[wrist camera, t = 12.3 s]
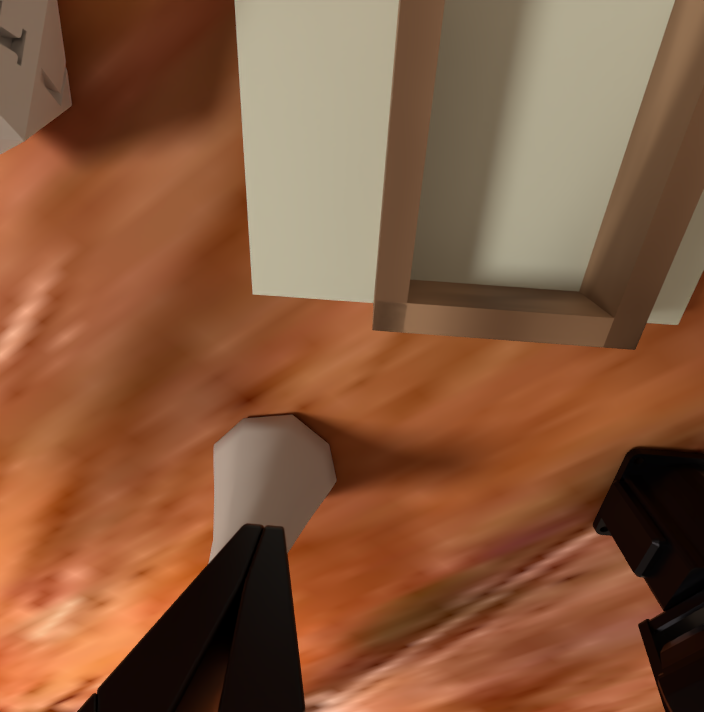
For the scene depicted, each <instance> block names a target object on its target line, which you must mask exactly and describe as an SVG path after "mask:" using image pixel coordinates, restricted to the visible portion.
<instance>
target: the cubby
mask: <svg viewBox="0 0 704 712" xmlns="http://www.w3.org/2000/svg"><path fill="white" fill-rule="evenodd" d="M444 5H445V0H399V5H398V17H397V29H396V41H395V53H394V64H393V76H392V88H391V100H390V112H389V124H388V136H387V148H386V160H385V171H384V183H383V195H382V207H381V219H380V231H379V243H378V255H377V266H376V278H375V290H374V302H373V329H372V330H377V331H390V332H403V333H417V334H430V335H444V336H457V337H471V338H484V339H498V340H511V341H524V342H538V343H551V344H565V345H578V346H592V347H605V348H618V349H632V350H635V349H636V346H637V344H638V342H639V339H640V337H641V335H642V332H643V330H644V328H645V325H646V323H647V321H648V318H649V316H650V314H651V311H652V309H653V307H654V304H655V302H656V300H657V297H658V295H659V293H660V290H661V288H662V286H663V283H664V281H665V279H666V276H667V274H668V272H669V269H670V267H671V265H672V262H673V260H674V257H675V255H676V253H677V250H678V248H679V246H680V243H681V241H682V239H683V236H684V234H685V232H686V229H687V227H688V225H689V222H690V220H691V218H692V215H693V213H694V211H695V208H696V206H697V204H698V201H699V199H700V197H701V194H702V192H703V190H704V0H675V2H674V5H673V8H672V11H671V14H670V17H669V20H668V23H667V26H666V29H665V32H664V35H663V38H662V41H661V45H660V48H659V51H658V54H657V57H656V60H655V63H654V66H653V69H652V72H651V75H650V78H649V81H648V84H647V87H646V90H645V93H644V96H643V99H642V102H641V105H640V108H639V111H638V114H637V117H636V120H635V123H634V126H633V129H632V132H631V135H630V138H629V142H628V145H627V148H626V151H625V154H624V157H623V160H622V163H621V166H620V169H619V172H618V175H617V178H616V181H615V184H614V187H613V190H612V193H611V196H610V199H609V202H608V205H607V208H606V211H605V214H604V217H603V220H602V223H601V226H600V229H599V232H598V235H597V239H596V242H595V245H594V248H593V251H592V254H591V257H590V260H589V263H588V266H587V269H586V272H585V275H584V278H583V281H582V284H581V287H580V290H579V292H578V291H564V290H550V289H536V288H522V287H508V286H494V285H480V284H466V283H452V282H438V281H423V280H410V277H411V269H412V261H413V253H414V245H415V237H416V229H417V221H418V213H419V205H420V197H421V189H422V181H423V173H424V165H425V157H426V149H427V141H428V133H429V125H430V117H431V109H432V101H433V93H434V85H435V77H436V69H437V61H438V53H439V45H440V37H441V29H442V21H443V13H444Z"/></svg>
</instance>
